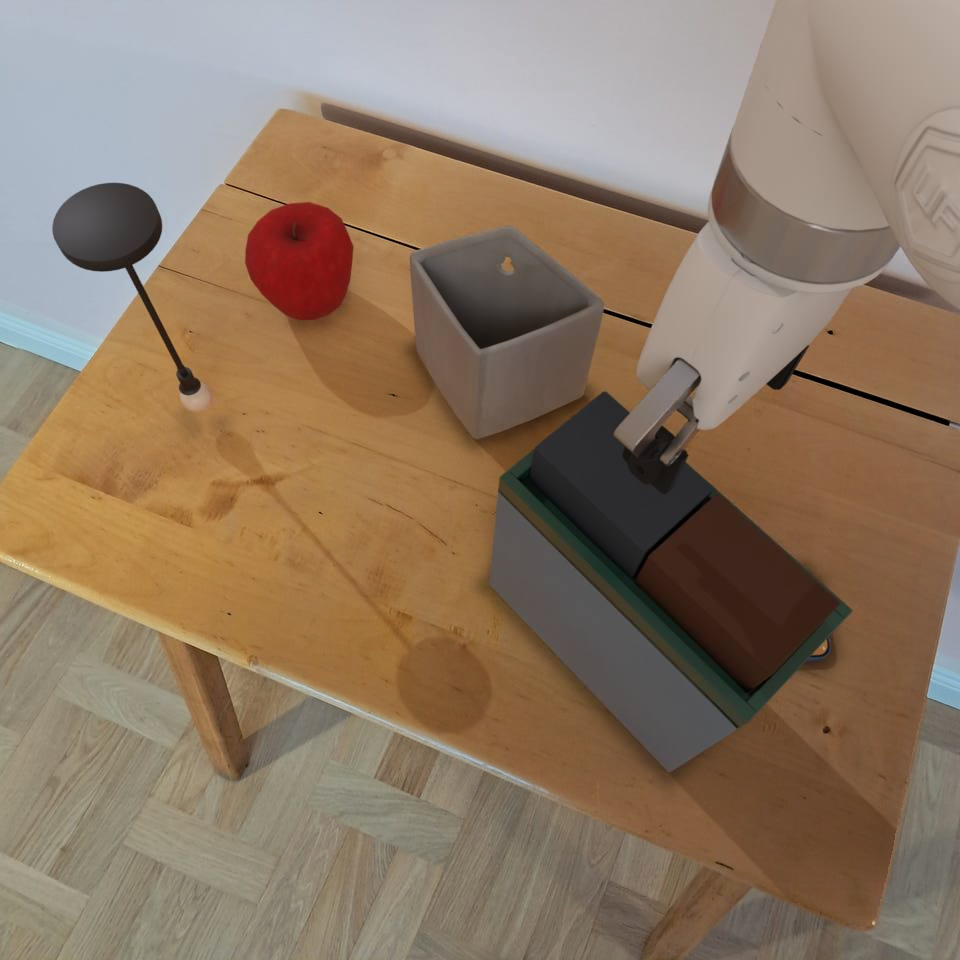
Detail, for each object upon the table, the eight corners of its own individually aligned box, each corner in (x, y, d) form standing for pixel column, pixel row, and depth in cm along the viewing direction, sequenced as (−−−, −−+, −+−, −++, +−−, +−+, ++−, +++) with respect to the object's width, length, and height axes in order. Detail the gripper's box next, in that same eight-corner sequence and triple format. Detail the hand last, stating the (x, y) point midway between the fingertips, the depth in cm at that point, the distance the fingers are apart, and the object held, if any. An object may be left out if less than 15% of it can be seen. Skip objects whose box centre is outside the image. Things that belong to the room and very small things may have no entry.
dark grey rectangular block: (593, 426, 58) (603, 390, 54) (695, 519, 55) (714, 488, 51) (528, 480, 56) (533, 447, 52) (630, 579, 53) (644, 552, 49)
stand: (750, 688, 69) (839, 620, 53) (668, 773, 66) (737, 729, 50) (570, 514, 75) (601, 406, 59) (488, 584, 72) (497, 491, 56)
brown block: (698, 522, 55) (718, 491, 51) (811, 626, 52) (841, 602, 48) (633, 582, 53) (648, 555, 49) (746, 693, 50) (772, 674, 46)
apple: (316, 245, 88) (298, 163, 78) (382, 299, 85) (372, 220, 75) (239, 302, 84) (211, 223, 75) (305, 360, 82) (284, 285, 72)
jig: (839, 620, 53) (853, 610, 51) (737, 729, 50) (748, 722, 48) (601, 406, 59) (605, 390, 57) (497, 491, 56) (498, 476, 54)
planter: (389, 416, 79) (370, 277, 62) (418, 347, 83) (407, 197, 65) (562, 464, 77) (592, 336, 60) (584, 391, 81) (618, 250, 63)
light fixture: (176, 457, 77) (59, 272, 54) (161, 396, 79) (45, 196, 57) (250, 436, 78) (166, 246, 55) (234, 376, 81) (148, 172, 58)
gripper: (866, 43, 37) (749, 299, 53) (588, 253, 32) (547, 470, 47) (1021, 136, 35) (851, 375, 50) (749, 380, 29) (651, 566, 45)
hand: (704, 421), depth 49 cm, fingers open, 9 cm apart
